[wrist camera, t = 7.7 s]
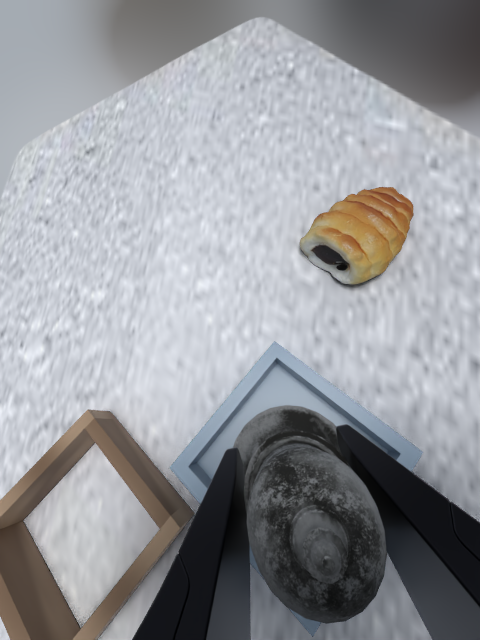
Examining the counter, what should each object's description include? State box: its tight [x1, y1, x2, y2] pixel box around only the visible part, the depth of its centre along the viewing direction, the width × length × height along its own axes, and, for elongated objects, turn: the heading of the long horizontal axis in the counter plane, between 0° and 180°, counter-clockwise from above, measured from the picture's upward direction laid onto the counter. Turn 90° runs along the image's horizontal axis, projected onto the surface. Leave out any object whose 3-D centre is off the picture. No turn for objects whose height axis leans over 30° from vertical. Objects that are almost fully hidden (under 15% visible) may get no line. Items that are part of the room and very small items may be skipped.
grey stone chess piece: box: [233, 405, 387, 623], centre depth 9 cm, size 6×6×12 cm
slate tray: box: [170, 341, 423, 637], centre depth 15 cm, size 10×10×2 cm
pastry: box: [300, 187, 413, 284], centre depth 20 cm, size 9×7×4 cm
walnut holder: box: [0, 410, 194, 640], centre depth 15 cm, size 9×9×2 cm
